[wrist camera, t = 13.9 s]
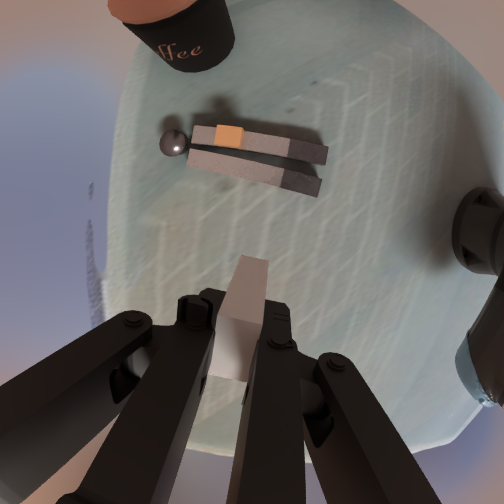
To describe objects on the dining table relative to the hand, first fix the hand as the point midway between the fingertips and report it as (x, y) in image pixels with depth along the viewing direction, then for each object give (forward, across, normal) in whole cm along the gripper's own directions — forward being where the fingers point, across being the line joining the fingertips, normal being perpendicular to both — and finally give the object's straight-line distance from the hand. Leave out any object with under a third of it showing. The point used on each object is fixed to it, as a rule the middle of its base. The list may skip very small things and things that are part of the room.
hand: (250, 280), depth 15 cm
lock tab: (+21, -6, +9) cm, 24 cm away
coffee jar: (+24, -14, +24) cm, 36 cm away
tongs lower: (+24, -5, +8) cm, 26 cm away
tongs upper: (+24, -3, +6) cm, 25 cm away
